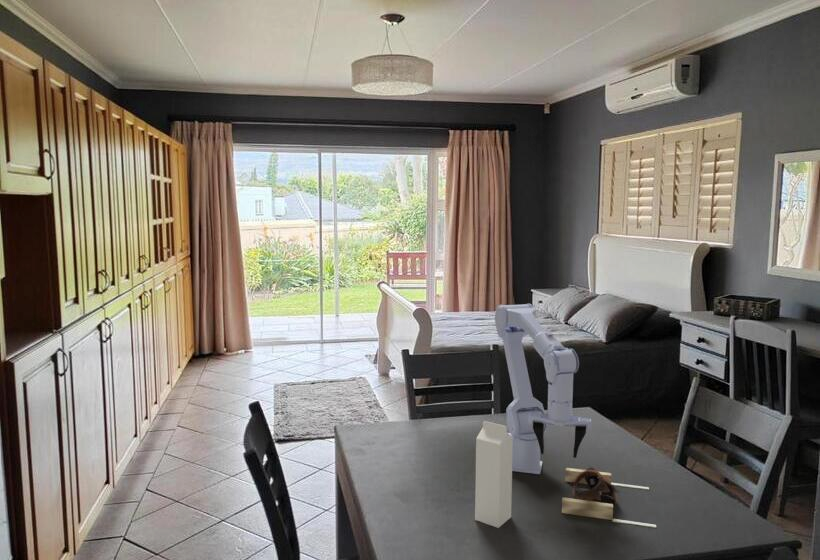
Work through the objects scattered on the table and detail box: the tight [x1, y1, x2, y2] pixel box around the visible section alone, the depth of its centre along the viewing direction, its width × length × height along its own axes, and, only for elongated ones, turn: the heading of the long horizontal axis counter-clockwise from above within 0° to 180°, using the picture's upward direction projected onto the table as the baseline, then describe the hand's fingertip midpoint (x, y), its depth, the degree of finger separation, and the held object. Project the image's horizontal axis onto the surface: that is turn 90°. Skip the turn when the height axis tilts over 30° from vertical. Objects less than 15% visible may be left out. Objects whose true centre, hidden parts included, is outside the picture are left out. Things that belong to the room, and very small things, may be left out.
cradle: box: [561, 467, 614, 521], centre depth 146 cm, size 11×18×3 cm, turn 163°
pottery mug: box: [572, 466, 618, 505], centre depth 146 cm, size 12×10×8 cm
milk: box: [474, 420, 513, 529], centre depth 135 cm, size 6×6×22 cm
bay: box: [611, 482, 657, 528], centre depth 143 cm, size 9×20×1 cm, turn 163°
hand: (558, 454), depth 147 cm, fingers open, 7 cm apart
